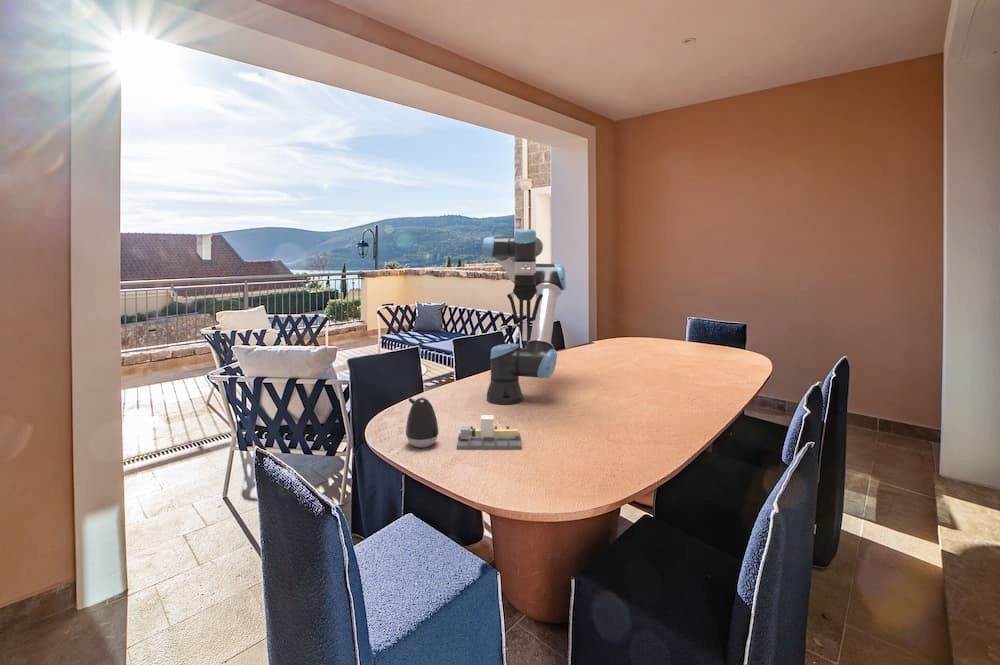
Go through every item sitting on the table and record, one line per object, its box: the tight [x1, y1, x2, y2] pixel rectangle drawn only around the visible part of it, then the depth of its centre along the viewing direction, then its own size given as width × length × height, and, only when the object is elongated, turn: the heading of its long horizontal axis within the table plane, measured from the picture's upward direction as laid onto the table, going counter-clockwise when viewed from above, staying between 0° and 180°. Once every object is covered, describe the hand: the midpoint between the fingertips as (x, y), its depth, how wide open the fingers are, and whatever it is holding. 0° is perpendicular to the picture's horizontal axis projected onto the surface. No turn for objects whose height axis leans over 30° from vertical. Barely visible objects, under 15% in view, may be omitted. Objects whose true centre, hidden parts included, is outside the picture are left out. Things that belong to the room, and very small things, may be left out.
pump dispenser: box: [405, 397, 439, 449], centre depth 153 cm, size 10×10×15 cm
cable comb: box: [456, 425, 523, 450], centre depth 155 cm, size 20×11×5 cm, turn 90°
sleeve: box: [480, 414, 495, 437], centre depth 155 cm, size 4×4×6 cm
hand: (524, 340), depth 175 cm, fingers closed
